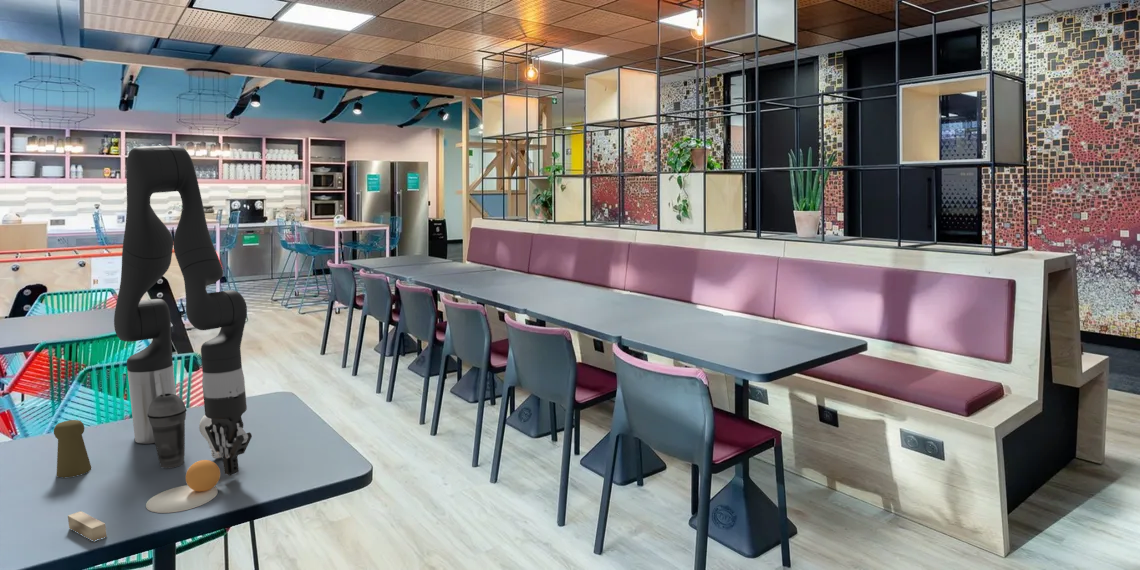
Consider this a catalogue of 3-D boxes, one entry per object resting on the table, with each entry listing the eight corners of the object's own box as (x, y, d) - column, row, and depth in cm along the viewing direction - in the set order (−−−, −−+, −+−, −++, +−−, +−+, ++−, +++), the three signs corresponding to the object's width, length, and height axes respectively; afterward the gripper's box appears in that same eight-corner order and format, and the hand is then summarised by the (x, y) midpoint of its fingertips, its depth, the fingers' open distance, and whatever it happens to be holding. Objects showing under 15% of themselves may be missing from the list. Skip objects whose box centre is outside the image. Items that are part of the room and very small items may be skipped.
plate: (133, 503, 130) (133, 502, 130) (196, 480, 140) (196, 479, 140) (167, 518, 124) (167, 517, 124) (230, 493, 134) (230, 492, 134)
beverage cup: (164, 473, 144) (154, 380, 141) (145, 466, 148) (136, 375, 145) (198, 461, 150) (190, 372, 147) (179, 455, 154) (171, 368, 151)
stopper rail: (69, 529, 121) (67, 515, 120) (82, 524, 122) (80, 511, 122) (93, 542, 116) (92, 528, 115) (106, 537, 118) (105, 523, 117)
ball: (214, 468, 140) (195, 495, 137) (193, 452, 137) (172, 479, 133) (232, 471, 137) (213, 499, 134) (211, 455, 134) (190, 483, 130)
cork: (98, 468, 148) (92, 418, 146) (70, 479, 142) (63, 427, 140) (78, 464, 149) (72, 415, 148) (49, 475, 144) (43, 425, 142)
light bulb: (222, 465, 148) (217, 416, 146) (195, 463, 149) (190, 414, 148) (242, 454, 154) (238, 406, 153) (216, 452, 155) (212, 405, 154)
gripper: (187, 390, 138) (195, 473, 141) (225, 401, 131) (233, 487, 134) (223, 381, 145) (230, 460, 147) (261, 391, 137) (268, 473, 140)
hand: (231, 473), depth 140 cm, fingers closed
